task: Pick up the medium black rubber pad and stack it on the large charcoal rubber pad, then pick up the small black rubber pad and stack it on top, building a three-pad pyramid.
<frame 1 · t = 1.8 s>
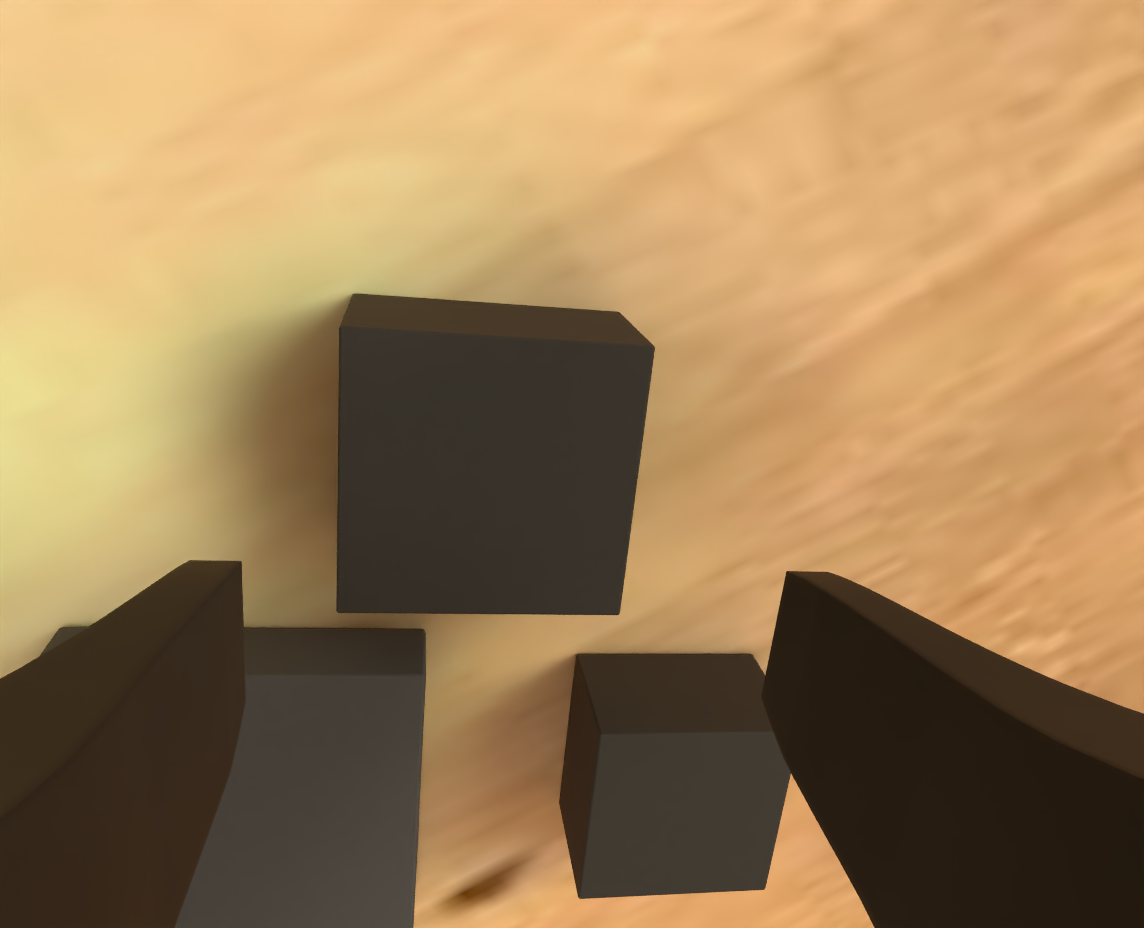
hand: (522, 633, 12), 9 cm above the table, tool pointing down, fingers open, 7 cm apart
middle pad: (481, 429, 20), on the table
base pad: (252, 769, 22), on the table
top pad: (654, 729, 23), on the table
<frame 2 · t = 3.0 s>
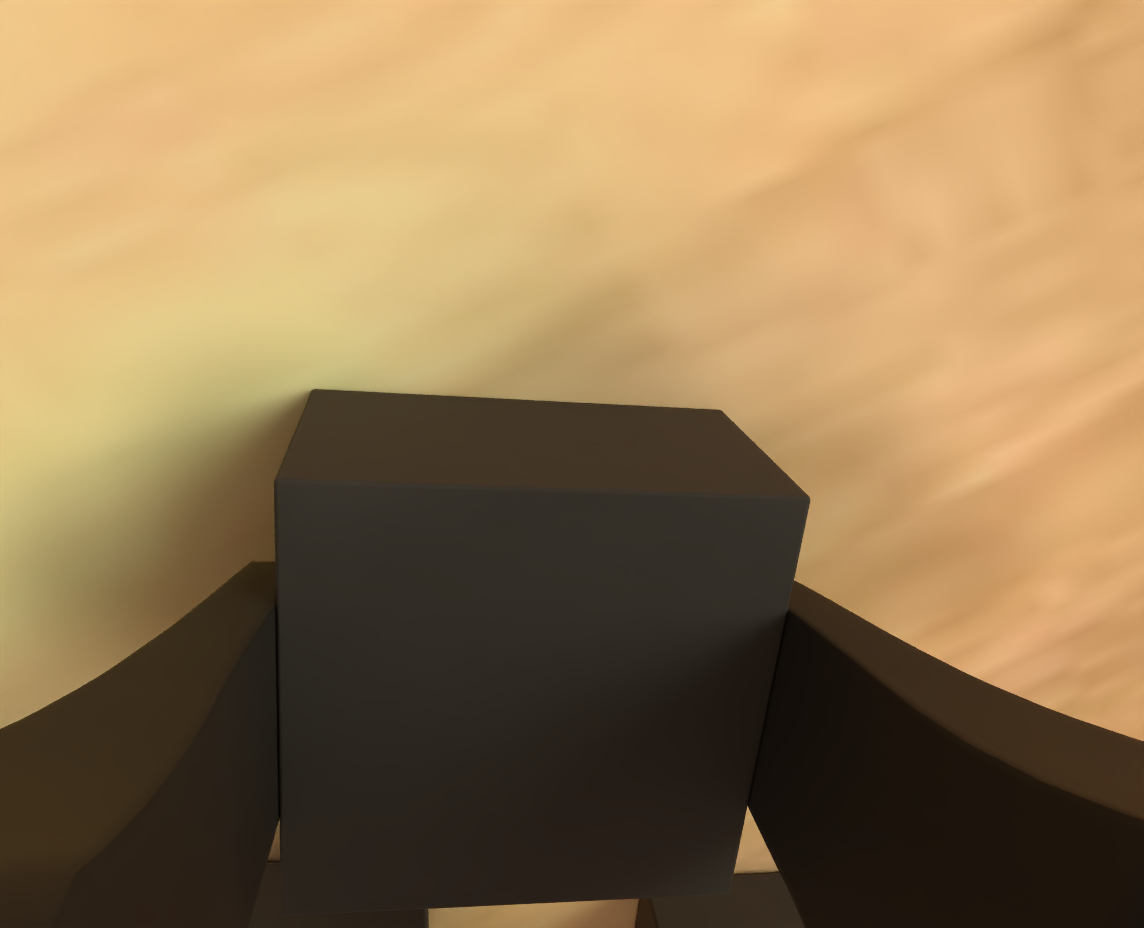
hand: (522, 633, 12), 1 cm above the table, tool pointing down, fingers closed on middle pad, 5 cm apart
middle pad: (509, 582, 13), on the table, touching gripper
when the fingers open (3 cm above the table, at t = 7.0 s): middle pad stays where it is, resting on base pad.
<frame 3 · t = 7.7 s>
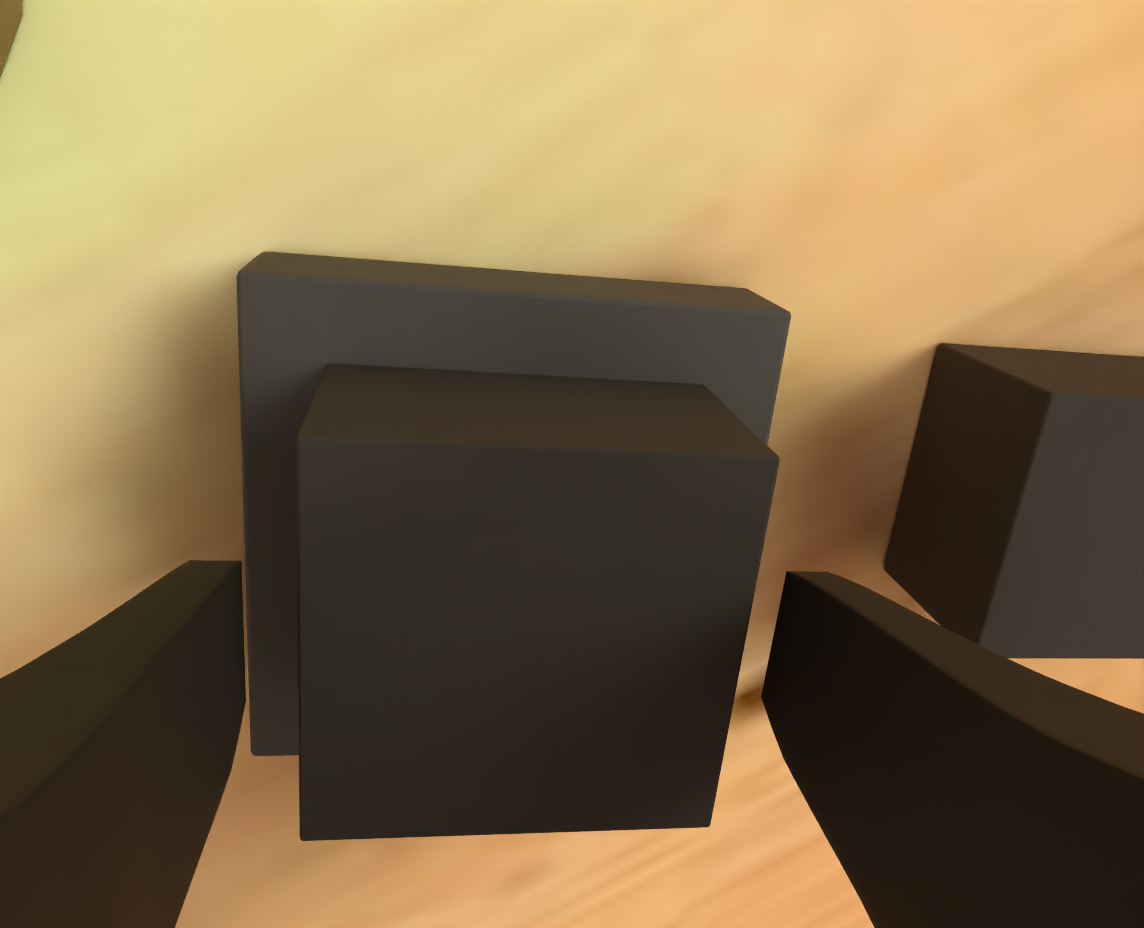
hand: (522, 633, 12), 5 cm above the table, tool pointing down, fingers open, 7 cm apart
middle pad: (508, 545, 14), point 2 cm above the table, touching base pad
base pad: (499, 496, 16), on the table, touching middle pad
top pad: (1017, 466, 17), on the table
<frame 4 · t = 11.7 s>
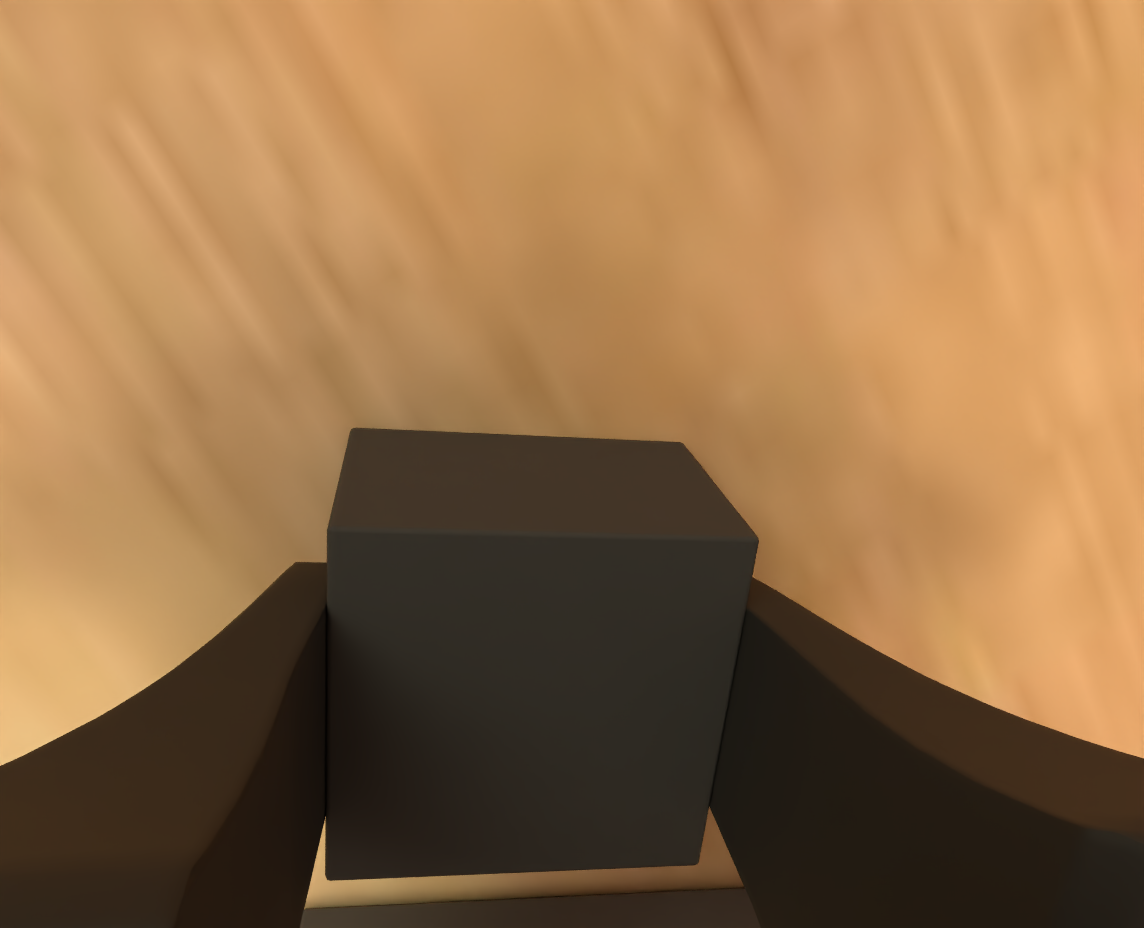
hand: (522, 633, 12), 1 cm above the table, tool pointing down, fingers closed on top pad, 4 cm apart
top pad: (509, 582, 13), on the table, touching gripper
when the fingers open (7 cm above the table, at t = 15.3 s): top pad stays where it is, resting on middle pad.
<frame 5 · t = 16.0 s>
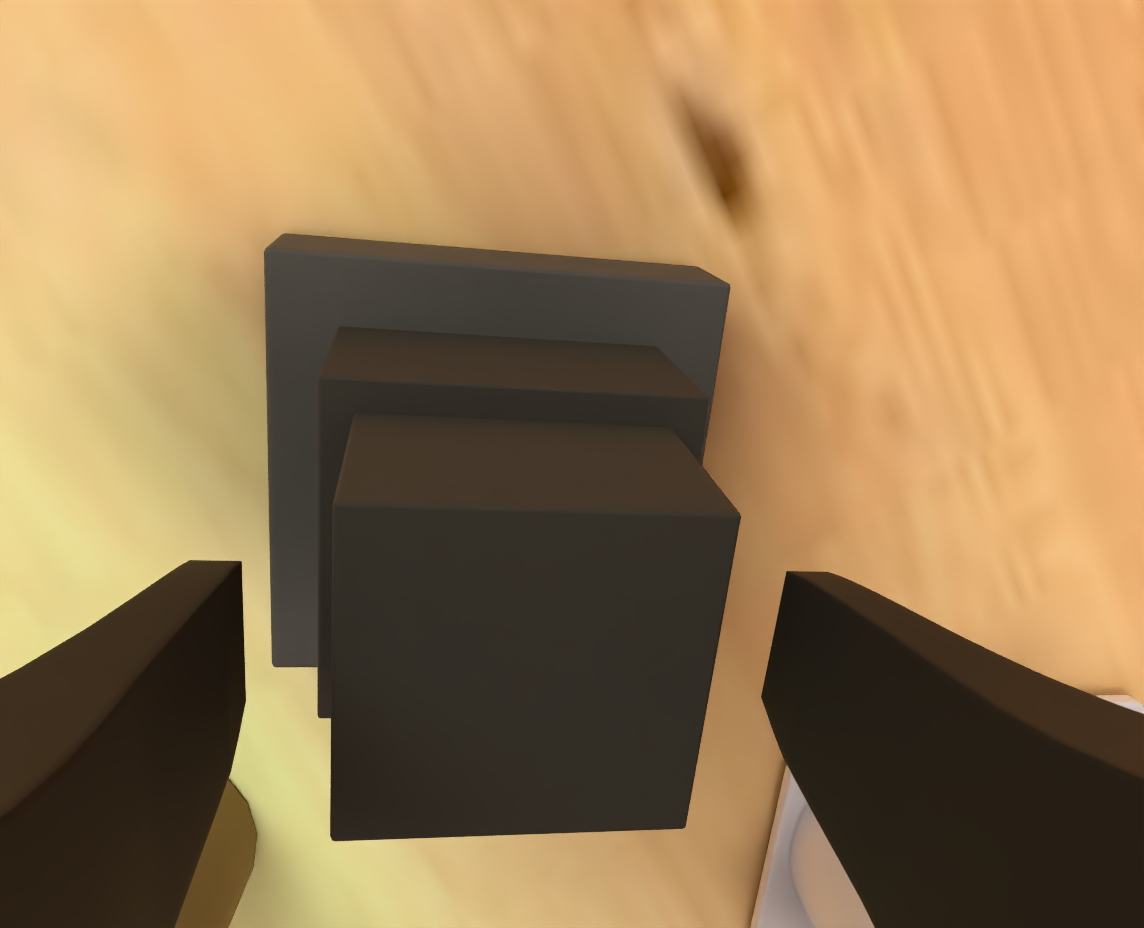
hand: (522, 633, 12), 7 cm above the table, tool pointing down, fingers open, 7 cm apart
middle pad: (492, 484, 17), point 2 cm above the table, touching base pad, top pad
olive game pawn: (121, 838, 21), on the table
base pad: (485, 447, 18), on the table, touching middle pad
top pad: (506, 562, 14), point 5 cm above the table, touching middle pad
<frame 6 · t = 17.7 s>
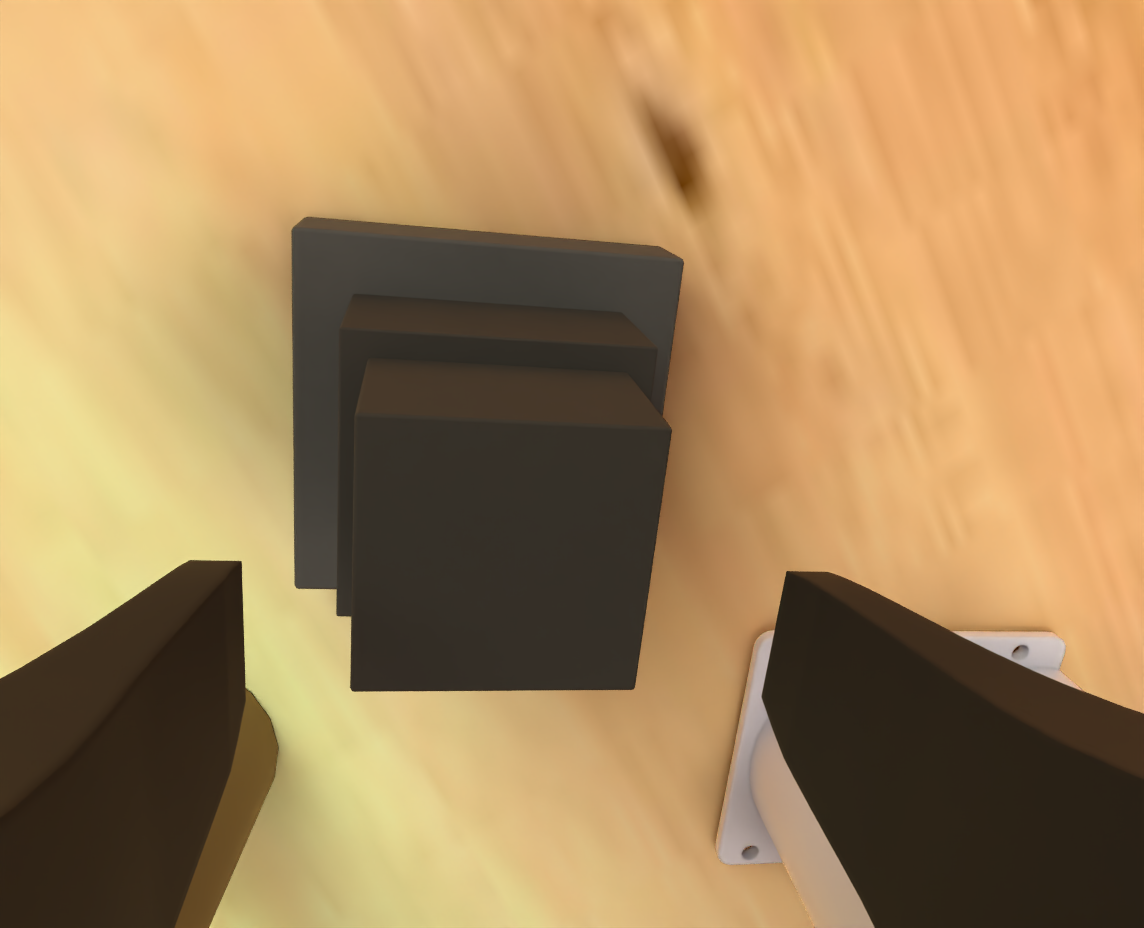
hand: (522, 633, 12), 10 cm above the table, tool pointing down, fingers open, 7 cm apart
middle pad: (482, 430, 20), point 2 cm above the table, touching base pad, top pad
olive game pawn: (160, 749, 24), on the table
base pad: (478, 403, 21), on the table, touching middle pad
top pad: (492, 484, 17), point 5 cm above the table, touching middle pad
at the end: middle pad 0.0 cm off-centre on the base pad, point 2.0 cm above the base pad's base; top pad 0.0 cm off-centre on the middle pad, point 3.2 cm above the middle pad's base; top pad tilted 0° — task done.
